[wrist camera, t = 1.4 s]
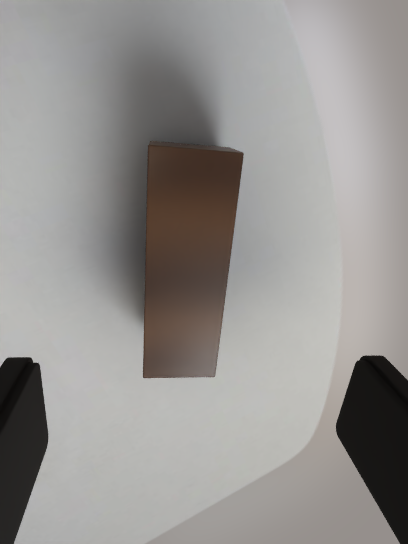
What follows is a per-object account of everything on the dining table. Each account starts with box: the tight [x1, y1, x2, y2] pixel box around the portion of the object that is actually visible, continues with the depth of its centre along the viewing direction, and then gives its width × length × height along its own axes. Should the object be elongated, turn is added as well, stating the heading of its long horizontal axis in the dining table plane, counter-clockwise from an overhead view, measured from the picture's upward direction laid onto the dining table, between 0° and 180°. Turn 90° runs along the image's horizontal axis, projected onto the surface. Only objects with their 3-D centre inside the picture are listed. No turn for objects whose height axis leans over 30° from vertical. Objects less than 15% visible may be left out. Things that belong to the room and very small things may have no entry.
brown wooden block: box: [143, 141, 244, 378], centre depth 18 cm, size 12×4×4 cm, turn 175°
